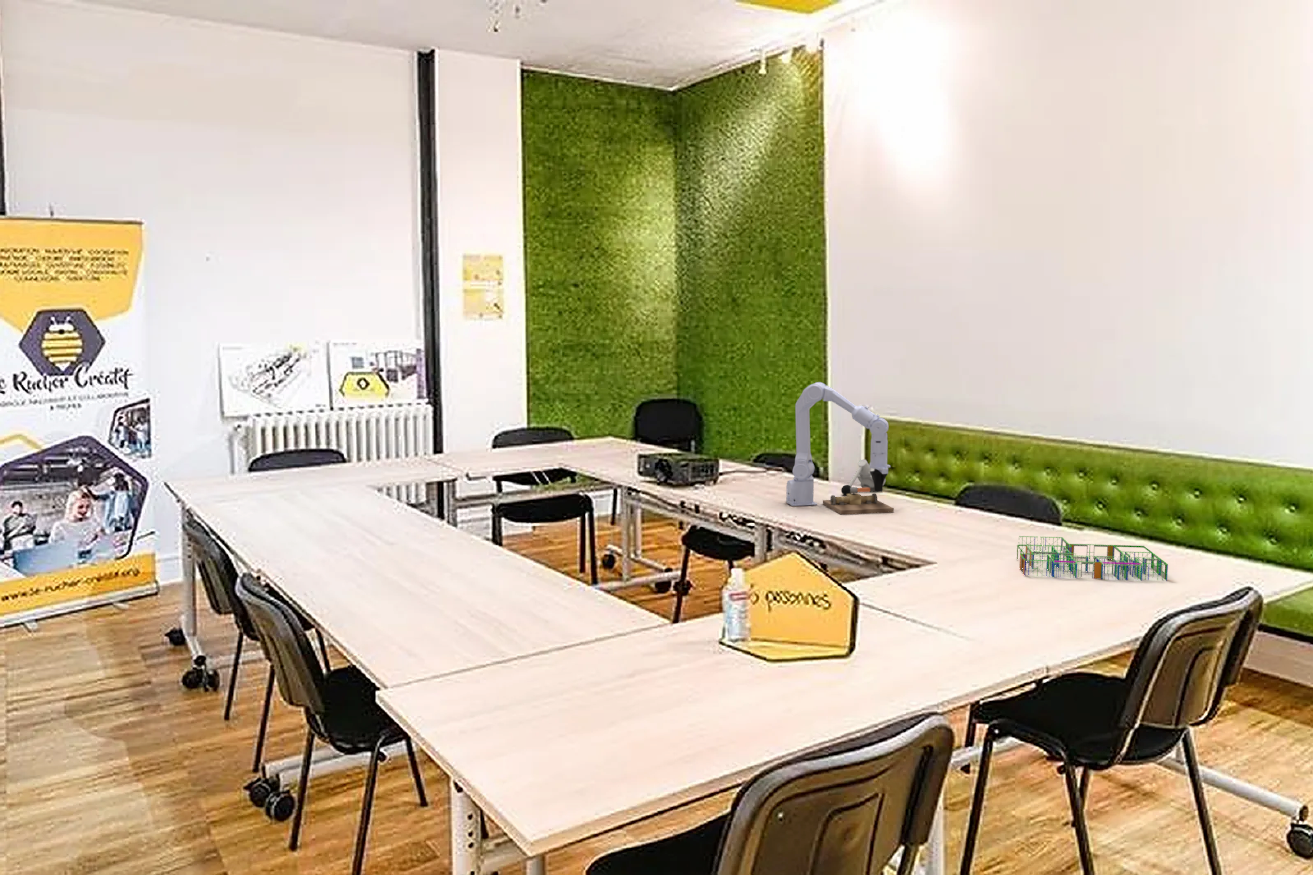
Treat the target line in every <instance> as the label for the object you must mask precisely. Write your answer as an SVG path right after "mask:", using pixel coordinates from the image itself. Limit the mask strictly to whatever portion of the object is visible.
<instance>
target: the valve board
mask: <svg viewBox="0 0 1313 875" xmlns="http://www.w3.org/2000/svg"><path fill="white" fill-rule="evenodd" d="M822 505H823V506H825V507H827V508H828V509H830V510H832V511H834V512H835V513H837V514H839V515H841V516H842V515H843V516H847V515H865V514H866V515H867V514H869V515H870V514H887V513H892V514H893V513H895V512H894V511H895V510H894V507H893V506H890V505H888V504H886V503H884V502H882V501H880V500H878V495H877V493H872V494H871V495H861V494H859V492H858V493H852V494H847V496H845V495H844V496H836V495H834V494H832V495H831V496H830V499H822Z"/></svg>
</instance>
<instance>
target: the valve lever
mask: <svg viewBox="0 0 1313 875" xmlns="http://www.w3.org/2000/svg"><path fill="white" fill-rule="evenodd" d="M883 490H884V488H882V491H877V492H876V491H875V488H874V487H869V488H862V487H858V486H855V487H854V486H852V487H851V488H850V493H852V494H853V493H858V494H859V493H868V492H869V493H883V492H884V491H883Z"/></svg>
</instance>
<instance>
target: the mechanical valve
mask: <svg viewBox="0 0 1313 875" xmlns="http://www.w3.org/2000/svg"><path fill="white" fill-rule="evenodd" d="M857 466H858V468H857V469H856V471H855V472H854V475H853V476H852V477H851V480H850V481H849V483H848V484H844V485H843V486H842V487H841V489H840V490H841V491H840V492H841V494H842V496H844V497H845V496H847V494H853V493H850V488H851V487H853V485H854V483H855V481H856V480H858V481H859V482H860V486H861V487H860V488H869V487H874V482H873V479H872V476H871V474H870V471H874V469H873V468H870V463H868V461H867V459H860V460H859V462H858V463H857ZM886 481H887V480H886V479H885V480H884V483H883V486H884V485H885V484H886Z"/></svg>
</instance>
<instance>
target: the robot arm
mask: <svg viewBox="0 0 1313 875" xmlns="http://www.w3.org/2000/svg"><path fill="white" fill-rule="evenodd" d="M821 400H822V401H823V402H832V403H834V404H836V405H837V406H839V407H841V408H842V409H844V410H845V411H846V412H849V413H850V415H851V418H852V420H853V421H855V422H857V423H858V424H860V425H861V426H863V427H864V428H865V429H867V430H869V431H870V433H871V439H870V462H869V465H870V468H873V469H874V471H870V474H871V476H872V479H873V482H874V488H875V491H876V492H875V493H878V492H877V491H882V488H883V486H884V485H883V483H884V480H886V477H887V476H888V474H889V468H891V465H890V464H888V444H889V442H888V433H887V432H888V431H889V422H888V421H887V420H886V419H885V418H884V417H881V415H879V414H876V413H874V412H872V411H871V410H869V407H868V406H867V405H865V406H864V405H856V404H854V403H853V402H852V401H850V400H849V399H848V398H847V397H846V396H844V395H842V394H841V393H839V392H838V390H835V389H834V388H833V387H831V386H829V385H827V384H825V383H823V382H821V381H818V382H817V381H816V382H815V383H812V384H809V385H807V387H805V388H803V390H802V393H801V394H800V396H799V398H798V399H797V400H796V403H795V407H794V408H795V440H796V441H795V444H796V454H795V458H794V466H793V467H792V475H793V479H789V480H787V481H786V486H785V487H786V490H785V491H786V494H785V495H786V496H785V497H786V500H785V503H787V504H788V505H790V506H791V507H797V506H817V505H818V503H817V502H815V501H814V492H815V491H814V484H815V483H814V479H815V478H814V476H813V474H814V473H815V465H814V463H813V455H812V453H811V428H810V427H811V426H810V424H811V423H810V422H811V421H810V409H811V408H812V407H813V406H815V404H816V403H818V402H820V401H821ZM884 484H885V483H884ZM883 489H884V488H883Z"/></svg>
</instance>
